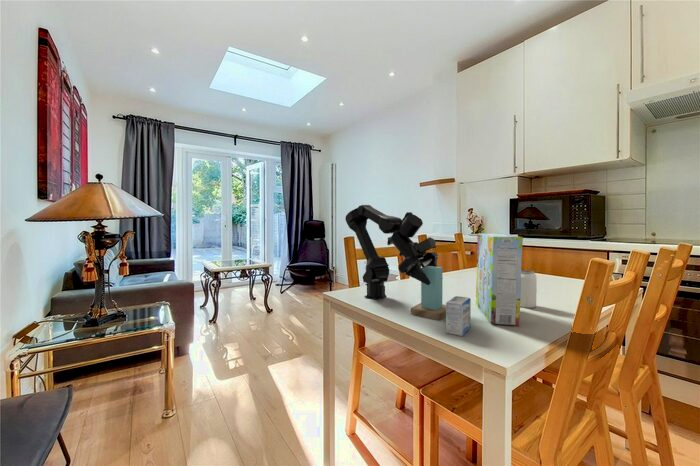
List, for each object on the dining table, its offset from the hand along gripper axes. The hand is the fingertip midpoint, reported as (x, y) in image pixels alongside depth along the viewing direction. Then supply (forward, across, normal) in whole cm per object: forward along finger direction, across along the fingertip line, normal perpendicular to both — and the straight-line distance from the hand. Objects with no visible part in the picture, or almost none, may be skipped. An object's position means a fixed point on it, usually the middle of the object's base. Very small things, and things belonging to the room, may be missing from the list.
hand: (435, 281), depth 96 cm
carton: (+5, 0, +7) cm, 9 cm away
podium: (+6, 0, +8) cm, 11 cm away
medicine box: (+15, -10, 0) cm, 18 cm away
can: (+22, +28, -7) cm, 36 cm away
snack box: (+18, +12, -3) cm, 22 cm away
